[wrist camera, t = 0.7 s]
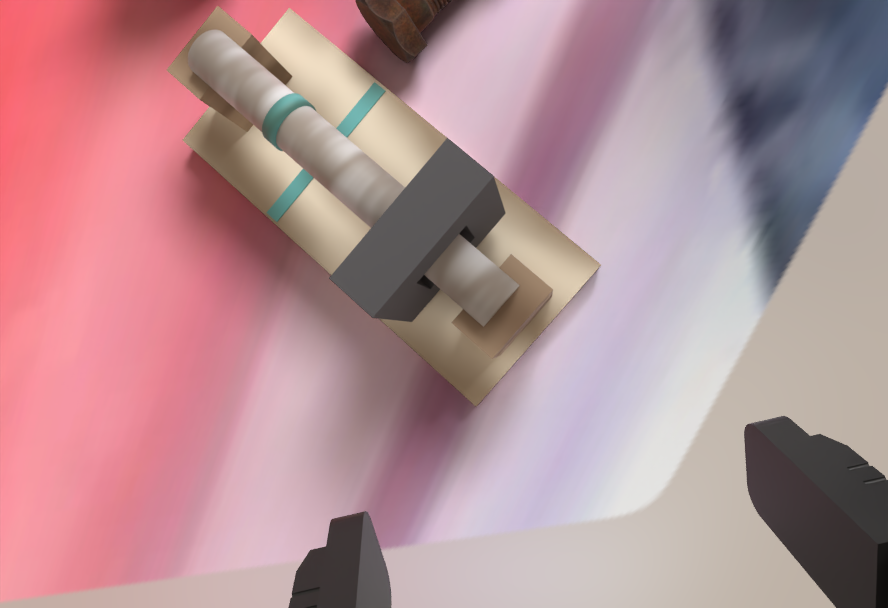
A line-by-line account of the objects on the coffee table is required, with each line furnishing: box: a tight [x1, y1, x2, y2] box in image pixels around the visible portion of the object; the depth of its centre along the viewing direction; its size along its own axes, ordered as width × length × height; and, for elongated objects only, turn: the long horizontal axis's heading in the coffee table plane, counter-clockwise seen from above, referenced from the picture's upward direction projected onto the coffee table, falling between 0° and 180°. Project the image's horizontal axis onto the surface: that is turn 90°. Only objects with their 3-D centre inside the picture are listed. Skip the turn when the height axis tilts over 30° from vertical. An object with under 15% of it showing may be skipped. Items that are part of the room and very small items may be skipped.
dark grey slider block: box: [329, 138, 506, 322], centre depth 34 cm, size 9×3×9 cm, turn 139°
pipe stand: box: [167, 6, 601, 406], centre depth 38 cm, size 12×28×9 cm, turn 49°
